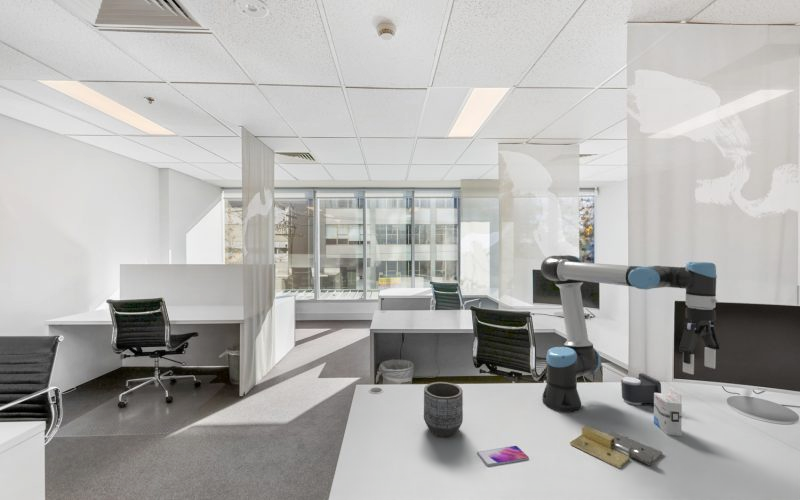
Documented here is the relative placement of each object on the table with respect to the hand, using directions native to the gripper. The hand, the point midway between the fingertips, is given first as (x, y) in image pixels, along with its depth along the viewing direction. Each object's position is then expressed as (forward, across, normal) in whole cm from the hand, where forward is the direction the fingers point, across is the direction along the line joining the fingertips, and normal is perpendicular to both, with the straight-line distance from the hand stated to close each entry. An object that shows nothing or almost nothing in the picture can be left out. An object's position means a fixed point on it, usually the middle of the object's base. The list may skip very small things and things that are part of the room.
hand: (699, 370), depth 110 cm
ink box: (+26, +2, +10) cm, 28 cm away
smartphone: (+27, -65, +22) cm, 74 cm away
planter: (+27, -74, +43) cm, 90 cm away
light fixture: (+26, +16, +28) cm, 42 cm away
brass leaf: (+26, -33, +12) cm, 43 cm away
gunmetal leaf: (+26, -24, +8) cm, 36 cm away
